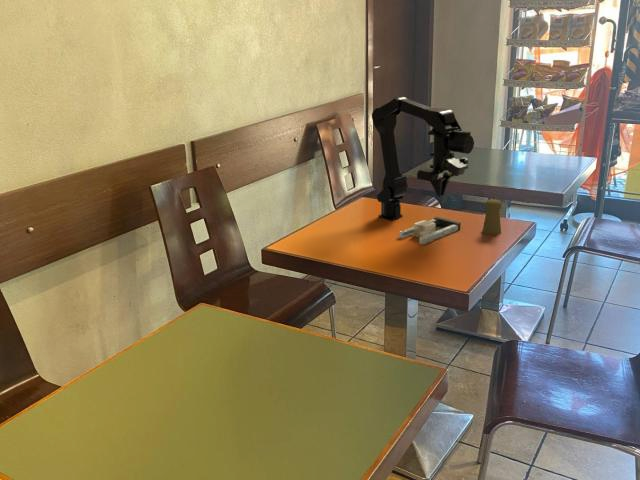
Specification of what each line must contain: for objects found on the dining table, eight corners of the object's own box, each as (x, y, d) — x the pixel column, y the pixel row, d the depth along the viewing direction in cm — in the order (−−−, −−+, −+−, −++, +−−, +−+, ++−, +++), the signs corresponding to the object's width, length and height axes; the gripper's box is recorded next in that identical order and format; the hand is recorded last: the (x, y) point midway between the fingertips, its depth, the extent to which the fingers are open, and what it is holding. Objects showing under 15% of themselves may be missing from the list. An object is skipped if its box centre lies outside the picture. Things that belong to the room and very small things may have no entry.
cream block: (413, 236, 206) (413, 223, 204) (423, 232, 209) (423, 220, 208) (425, 239, 203) (425, 226, 201) (435, 236, 206) (435, 223, 204)
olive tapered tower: (501, 235, 204) (503, 203, 200) (482, 234, 205) (484, 202, 201) (500, 229, 209) (502, 197, 206) (481, 228, 211) (483, 197, 207)
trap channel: (399, 237, 205) (399, 230, 204) (436, 223, 217) (436, 216, 217) (423, 244, 198) (423, 237, 197) (460, 229, 210) (460, 222, 210)
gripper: (444, 158, 190) (442, 206, 195) (479, 148, 202) (477, 194, 207) (416, 153, 198) (415, 200, 203) (451, 143, 209) (449, 188, 215)
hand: (440, 195), depth 207 cm, fingers closed
